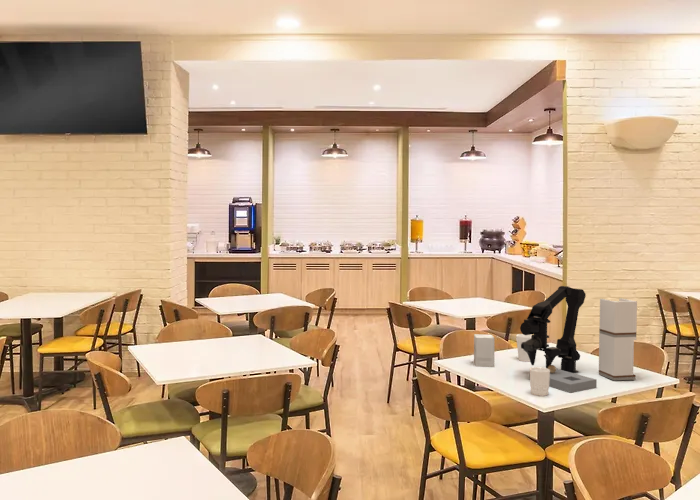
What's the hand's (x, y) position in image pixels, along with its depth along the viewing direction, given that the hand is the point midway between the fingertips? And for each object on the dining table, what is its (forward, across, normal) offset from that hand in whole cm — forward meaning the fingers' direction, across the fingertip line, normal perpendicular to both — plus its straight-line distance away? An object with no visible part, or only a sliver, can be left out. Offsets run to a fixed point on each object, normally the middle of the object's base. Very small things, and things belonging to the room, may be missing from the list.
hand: (539, 367), depth 259 cm
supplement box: (+5, -28, -8) cm, 30 cm away
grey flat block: (+4, +13, 0) cm, 13 cm away
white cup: (+5, +19, -20) cm, 28 cm away
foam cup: (+5, -26, +17) cm, 32 cm away
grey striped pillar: (+5, +15, +32) cm, 36 cm away
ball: (-1, +7, 0) cm, 7 cm away
